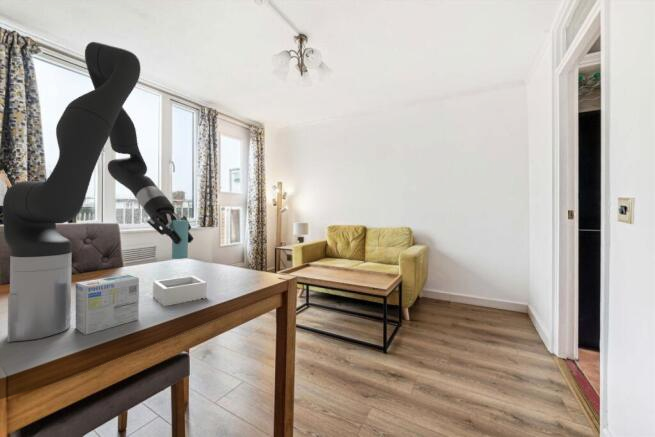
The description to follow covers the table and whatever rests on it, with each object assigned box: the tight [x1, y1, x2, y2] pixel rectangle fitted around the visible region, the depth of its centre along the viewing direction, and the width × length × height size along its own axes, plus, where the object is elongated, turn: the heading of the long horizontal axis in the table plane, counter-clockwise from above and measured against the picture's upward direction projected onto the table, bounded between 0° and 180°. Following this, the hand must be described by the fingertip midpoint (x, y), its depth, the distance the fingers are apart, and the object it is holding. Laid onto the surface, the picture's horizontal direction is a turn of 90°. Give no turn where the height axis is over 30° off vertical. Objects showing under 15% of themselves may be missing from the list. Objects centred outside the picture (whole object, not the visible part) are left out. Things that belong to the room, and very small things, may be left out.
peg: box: [171, 219, 189, 260], centre depth 85 cm, size 4×4×12 cm
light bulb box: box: [75, 274, 140, 336], centre depth 64 cm, size 11×7×11 cm, turn 149°
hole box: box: [152, 275, 208, 307], centre depth 85 cm, size 12×12×5 cm
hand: (185, 241), depth 85 cm, fingers closed on peg, 4 cm apart
